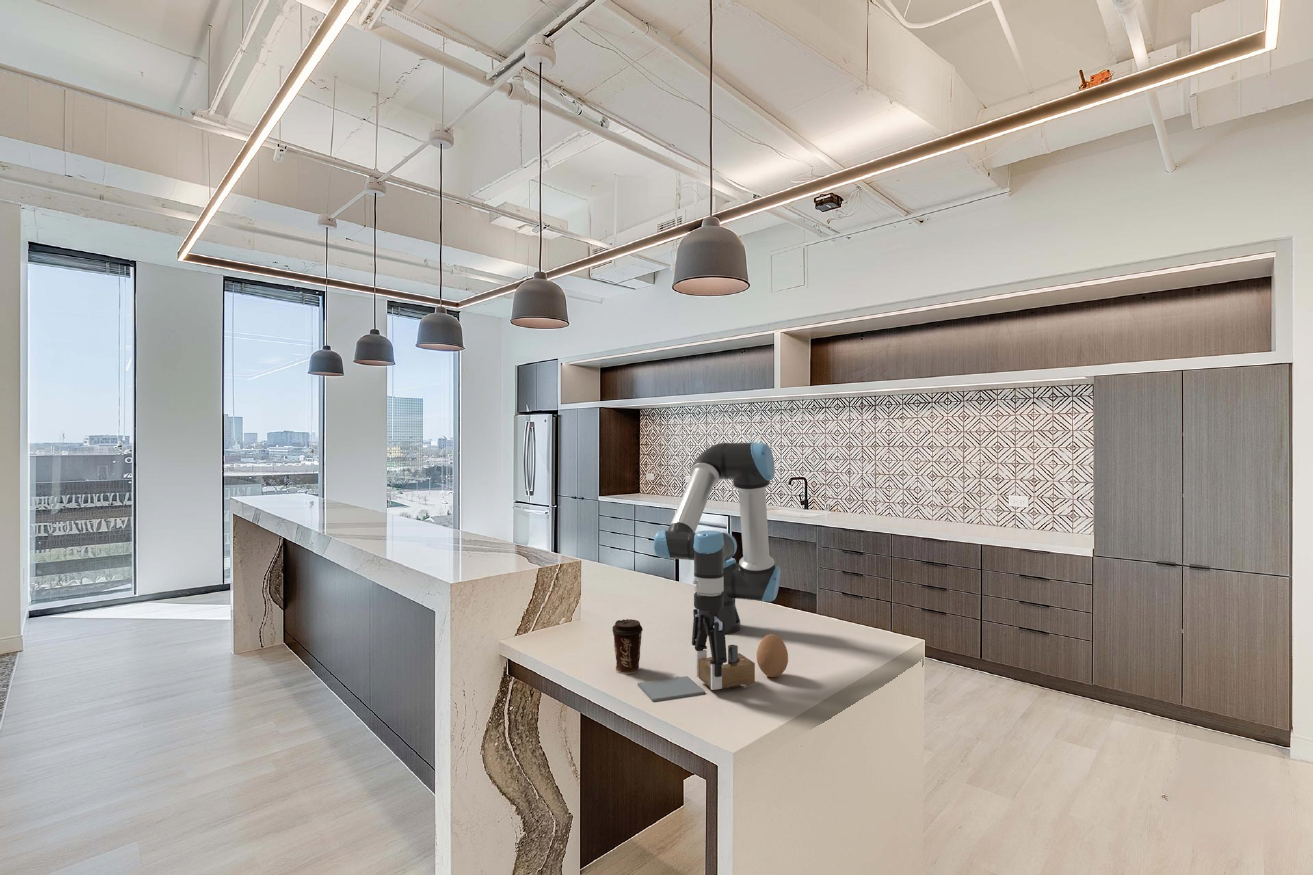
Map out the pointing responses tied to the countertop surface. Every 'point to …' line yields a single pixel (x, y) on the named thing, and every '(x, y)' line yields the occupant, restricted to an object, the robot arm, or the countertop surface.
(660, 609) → the countertop surface
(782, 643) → the egg
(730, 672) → the c link
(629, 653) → the coffee cup
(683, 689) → the mat
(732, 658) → the post stand
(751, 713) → the countertop surface
